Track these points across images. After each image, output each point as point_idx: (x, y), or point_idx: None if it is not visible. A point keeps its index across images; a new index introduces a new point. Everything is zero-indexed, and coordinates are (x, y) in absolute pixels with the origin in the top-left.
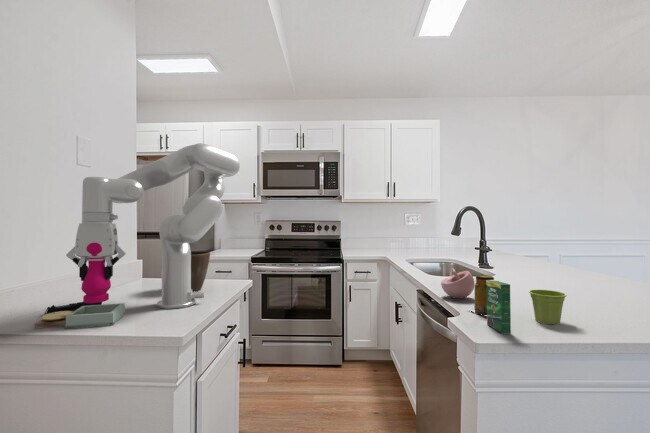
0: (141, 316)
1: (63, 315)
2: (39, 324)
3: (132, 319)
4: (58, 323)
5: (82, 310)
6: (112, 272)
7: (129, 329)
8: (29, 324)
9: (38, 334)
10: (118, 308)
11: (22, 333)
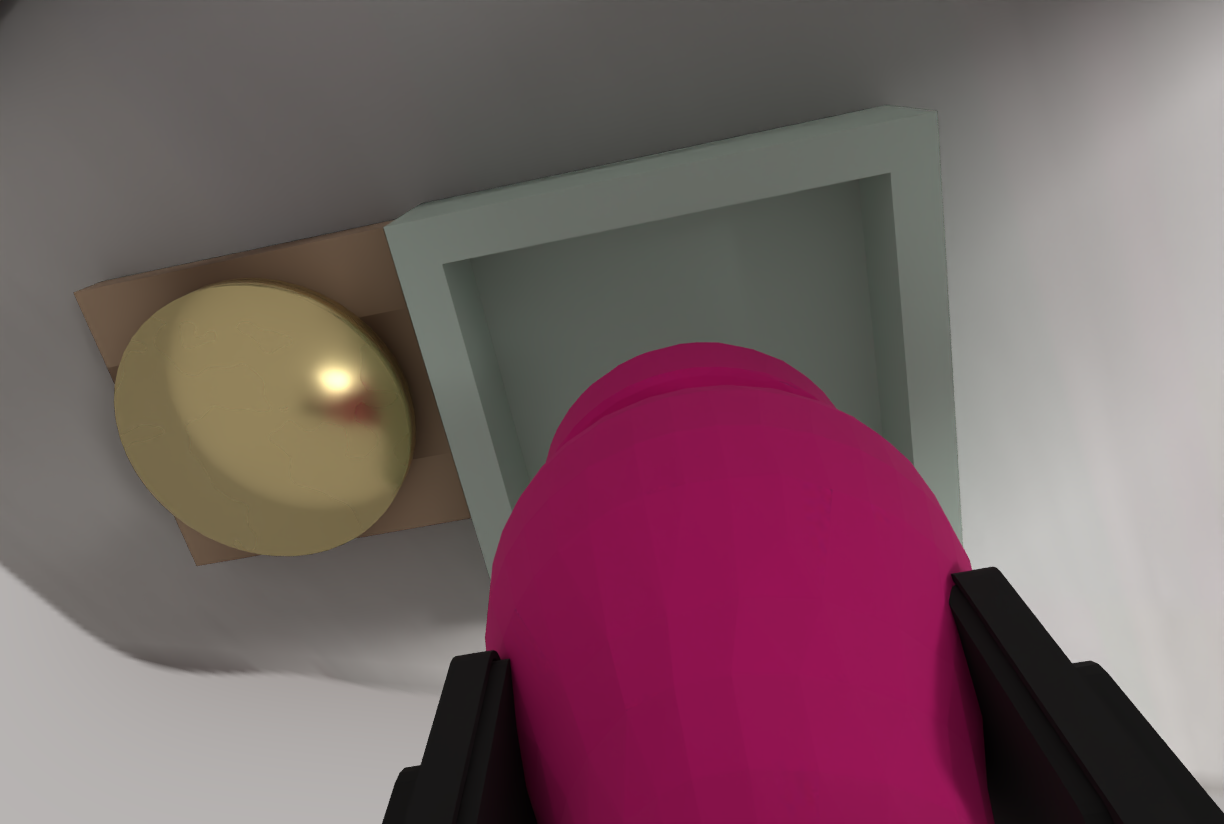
0: (1132, 230)
1: (365, 478)
2: (242, 553)
3: (1055, 345)
4: (394, 523)
5: (470, 340)
6: (1133, 725)
7: (1113, 643)
8: (49, 421)
9: (399, 688)
10: (953, 406)
11: (242, 656)
